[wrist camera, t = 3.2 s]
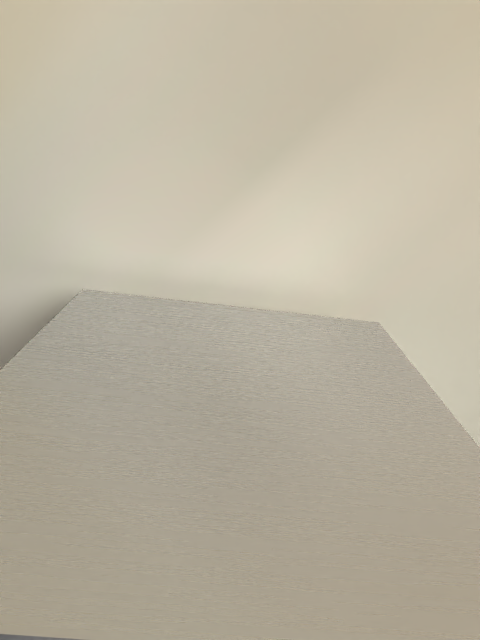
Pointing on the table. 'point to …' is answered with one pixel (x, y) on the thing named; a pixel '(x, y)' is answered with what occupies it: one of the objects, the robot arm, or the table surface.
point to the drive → (230, 481)
